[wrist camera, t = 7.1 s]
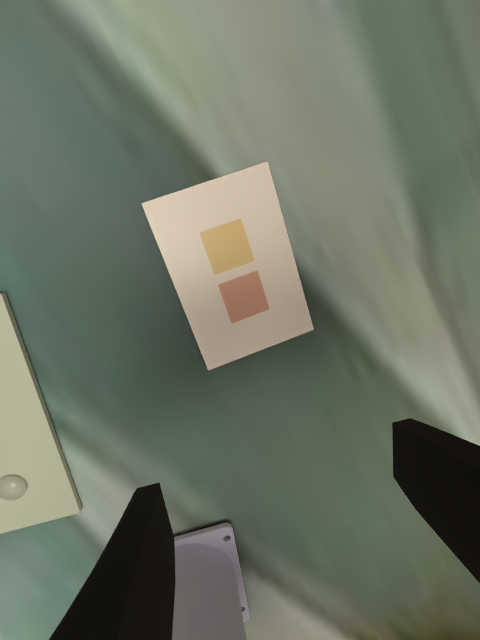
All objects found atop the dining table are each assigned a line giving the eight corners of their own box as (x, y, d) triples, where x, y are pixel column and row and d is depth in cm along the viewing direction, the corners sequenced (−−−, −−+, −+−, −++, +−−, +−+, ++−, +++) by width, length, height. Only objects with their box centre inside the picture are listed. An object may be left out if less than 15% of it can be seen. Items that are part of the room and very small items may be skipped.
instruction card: (312, 328, 20) (314, 330, 19) (207, 369, 19) (208, 371, 19) (266, 162, 17) (267, 160, 17) (141, 203, 16) (141, 203, 16)
